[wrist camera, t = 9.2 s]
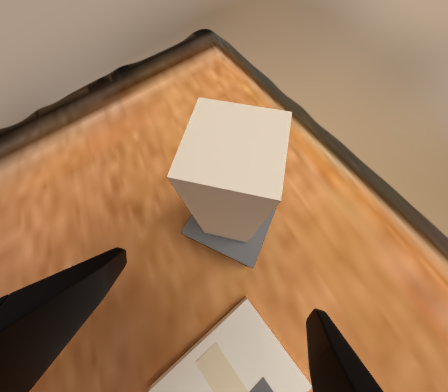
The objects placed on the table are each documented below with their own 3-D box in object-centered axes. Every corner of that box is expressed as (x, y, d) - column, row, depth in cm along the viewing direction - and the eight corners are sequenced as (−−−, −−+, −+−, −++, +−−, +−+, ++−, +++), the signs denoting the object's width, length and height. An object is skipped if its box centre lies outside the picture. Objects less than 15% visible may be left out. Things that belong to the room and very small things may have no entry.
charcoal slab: (247, 266, 21) (253, 268, 17) (188, 237, 22) (181, 233, 18) (270, 207, 23) (280, 197, 19) (216, 183, 24) (214, 170, 20)
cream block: (246, 242, 17) (280, 200, 6) (204, 232, 18) (166, 176, 7) (254, 202, 19) (291, 111, 8) (215, 193, 20) (198, 97, 8)
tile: (207, 493, 15) (206, 515, 13) (151, 384, 17) (146, 394, 16) (306, 377, 17) (312, 387, 16) (245, 296, 19) (247, 299, 18)
